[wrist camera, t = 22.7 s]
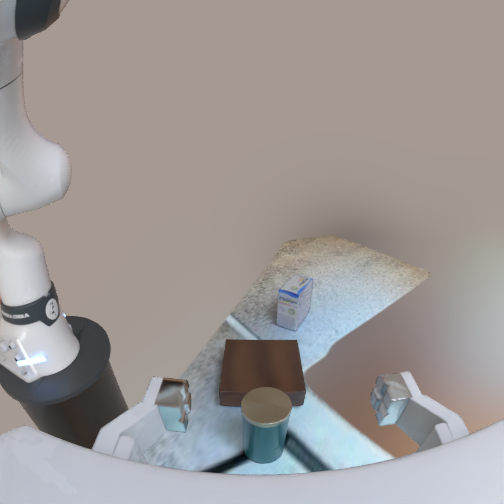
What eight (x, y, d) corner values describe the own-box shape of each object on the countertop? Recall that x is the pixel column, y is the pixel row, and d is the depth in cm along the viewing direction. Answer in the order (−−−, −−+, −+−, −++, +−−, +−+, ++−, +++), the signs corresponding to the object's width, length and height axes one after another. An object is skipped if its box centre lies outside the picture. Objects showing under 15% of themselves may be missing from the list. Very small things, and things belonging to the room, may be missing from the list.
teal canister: (241, 464, 30) (240, 423, 26) (243, 432, 35) (242, 386, 31) (285, 463, 29) (293, 423, 26) (282, 432, 34) (289, 386, 31)
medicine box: (291, 307, 65) (294, 273, 62) (309, 312, 63) (313, 277, 60) (275, 325, 59) (278, 288, 55) (296, 332, 57) (299, 294, 53)
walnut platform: (220, 408, 39) (218, 391, 37) (227, 356, 50) (226, 339, 48) (302, 408, 38) (306, 391, 37) (294, 356, 50) (297, 339, 48)
